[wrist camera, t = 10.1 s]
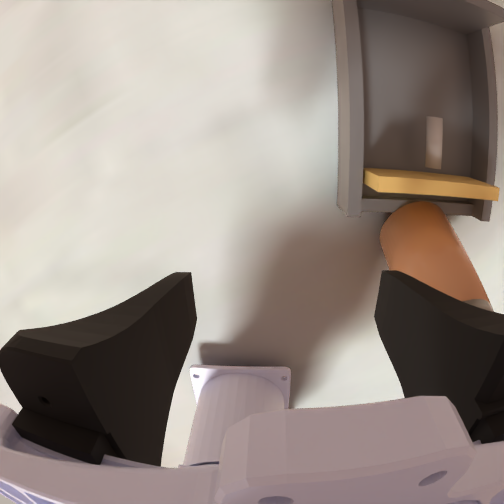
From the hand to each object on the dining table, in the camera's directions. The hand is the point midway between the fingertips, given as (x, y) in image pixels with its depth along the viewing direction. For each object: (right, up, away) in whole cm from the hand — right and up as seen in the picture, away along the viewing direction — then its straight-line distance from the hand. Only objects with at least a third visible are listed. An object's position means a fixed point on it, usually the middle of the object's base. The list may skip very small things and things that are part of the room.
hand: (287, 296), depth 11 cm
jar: (+9, +3, +7) cm, 12 cm away
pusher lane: (+9, +11, +5) cm, 15 cm away
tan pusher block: (+9, +8, +5) cm, 13 cm away
